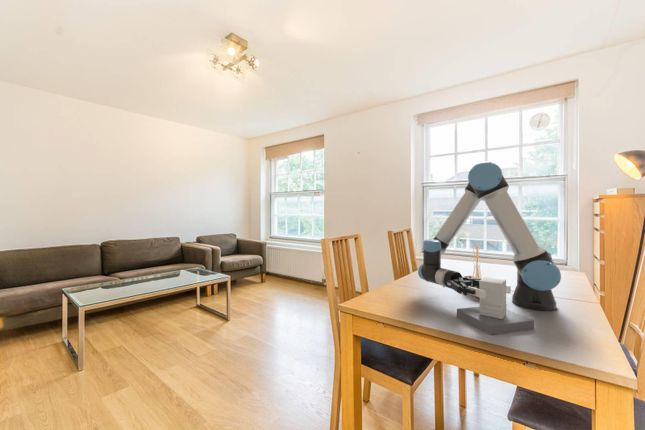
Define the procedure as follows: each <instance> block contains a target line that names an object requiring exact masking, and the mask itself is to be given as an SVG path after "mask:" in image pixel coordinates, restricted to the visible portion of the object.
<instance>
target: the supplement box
mask: <svg viewBox="0 0 645 430" xmlns="http://www.w3.org/2000/svg"><path fill="white" fill-rule="evenodd" d="M480 279H481V280H479V289H481V290H484V291H486V299H483V298H480V297H479V298H478V299H479V303H478V304H479V306H480V315H485V316H489V317H494V318H498V319H503V318H504V316H505V315H506V309H507V293H506V285H507V279H502V278H495V277H487V276H484V277H481V278H480ZM479 306H478V307H479Z"/></svg>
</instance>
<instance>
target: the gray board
mask: <svg viewBox="0 0 645 430" xmlns="http://www.w3.org/2000/svg"><path fill="white" fill-rule="evenodd" d="M456 317H457V318H458V319H461V321H464V322H465V323H468V324H470V325H471V326H472V327H473V326H474V327H475V328H478V329H479V330H481V331H483V332H485V333H487V334H489V335H490V336H493V335H499V334H507V333H514V332H521V331H528V330H534V329H535V319H532V318H530V317H526V316H524V315H522V314H519V313H518V312H515V311H512V310H509V309H507V308H506V315H505V316H504V318H503V319H498V318H494V317H489V316H485V315H480V306H472V307H471V306H470V307H463V308H457V309H456Z"/></svg>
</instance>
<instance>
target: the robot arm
mask: <svg viewBox="0 0 645 430" xmlns="http://www.w3.org/2000/svg"><path fill="white" fill-rule="evenodd" d="M467 179H468V183H467V185H466V186H465V187H464V193H463V195H462V197H461V198H460V200H458V202H457V204H456V205H455V207H454V208H453V210H451V213H450V214H449V216H448V217H447V219H446V220H445V221H444V223H443V224H442V225H441V227H440V229H439V230H438V231H437V233H436V234H435V236H434V238H432V239H425V240H424V241H423V246H422V256H423V258H422V259H423V261H422V264H421V265H419V268H418V270H417V275H418V277H419V278H420V279H421V280H423V281H425V282H428V283H432V284H435V285H438V286H442V288H448V289H451V290H453V291H455V292H456V293H457V294H462V293H463V294H462V295H463V296H468V295H470V296H472V295H473V296H477V297H480V298H483V299H486V291H484V290H481V289H477V288H474V287H475V286H476V287H479V280H481V279H482V278H477V277H474V276H472V277H469V278H467V277H465V276H463V275H462V274H461V272H459V271H455V270H452V269H447V268H444V267H441V262H442V260H441V259H442V258H441V257H442V255H443V254H444V253H445V252H446V250H447V249H448V247H449V246H450V244H451V243H452V242H453V240H454V239H455V237H456V236H457V234H458V233H459V231H460V230H461V229H462V228H463V226H464V225H465V223H466V222H467V220H468V219H469V217H471V215H472V213H474V210H475V209H476V208H477V206H478V205H479V204H480V202H482V201H483V202H484V203H485V204H486V206H487V208H488V210H489V211H490V213H491V215H492V217H493V218H494V220H495V222H496V224H497V226H498V228H499V229H500V231H501V233H502V235H503V237H504V239H505V240H506V242H507V244H508V246H509V248H510V249H511V251H512V253H513V257H512V261H513V264H514V265H515V267H516V269H517V270H516V272H517V273H516V274H517V275H516V276H517V277H516V281H517V282H516V286H515V290H513V294H512V296H511V300H512V303H513V304H514V305H517V306H520V307H522V308H527V309H530V310H537V311H554V310H556V309H557V301H556V300H555V295H554V294H553V293H554V292H553V291H552V290H553V289H555V288H557V287H558V286H559V284H560V283H561V280H562V273H561V271H560V268H559V267H558V266H557V265H556V264H555V262H554V261H553V258H552V254H551V252H548V251H547V250H546V248H543V247H540V246H539V244H538V242H537V241H536V239H535V238H534V236H533V234H532V232H531V231H530V229H529V227H528V225H527V224H526V222H525V220H524V219H523V217H522V215H521V213H520V211H519V210H518V208H517V207H516V205H515V203H514V201H513V200H512V198H511V196H510V194H509V193H508V190H509V187H510V186H509V183H508V182H507V180H506V178H505V176H504V174H503V171H502V169H501V167H500V166H499V165H498V164H496V163H494V162H492V161H481V162H479V163H476V164H475V165H474V166H472V167H471V168H470V169H469V172H468V175H467ZM473 277H474V278H473ZM471 284H473V285H471ZM467 287H468V288H467ZM511 290H512V289H511V285H508V284H506V294H510V295H511V292H512V291H511ZM473 296H472V297H473Z"/></svg>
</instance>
